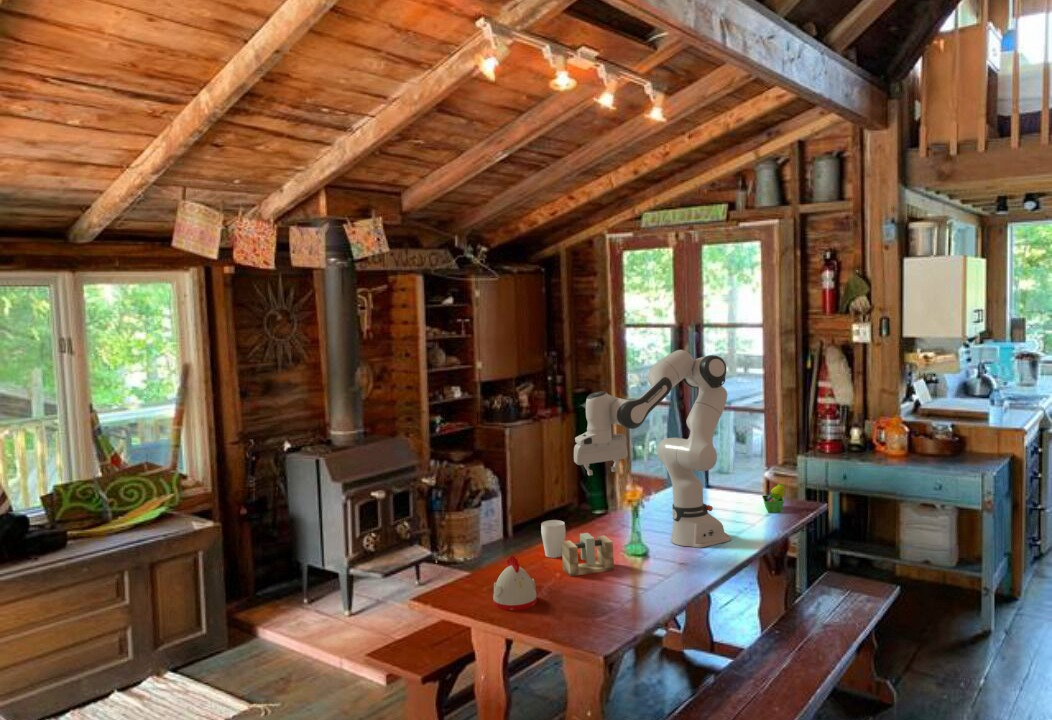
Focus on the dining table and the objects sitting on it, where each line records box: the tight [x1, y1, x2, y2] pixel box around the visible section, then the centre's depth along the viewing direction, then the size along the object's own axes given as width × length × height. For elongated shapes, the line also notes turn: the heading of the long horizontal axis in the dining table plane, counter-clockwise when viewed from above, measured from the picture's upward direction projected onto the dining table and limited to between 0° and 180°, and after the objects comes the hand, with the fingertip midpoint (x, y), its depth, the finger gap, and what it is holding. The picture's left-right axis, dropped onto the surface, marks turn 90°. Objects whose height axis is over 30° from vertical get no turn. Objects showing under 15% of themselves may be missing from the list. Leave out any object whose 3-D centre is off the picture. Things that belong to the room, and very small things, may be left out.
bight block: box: [579, 532, 597, 565], centre depth 298 cm, size 3×7×9 cm, turn 15°
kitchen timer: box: [492, 554, 538, 611], centre depth 271 cm, size 14×14×15 cm
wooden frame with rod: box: [561, 535, 615, 577], centre depth 298 cm, size 16×8×10 cm, turn 106°
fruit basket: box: [762, 483, 786, 514], centre depth 360 cm, size 11×9×11 cm
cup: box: [540, 519, 566, 559], centre depth 316 cm, size 9×9×12 cm
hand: (602, 473), depth 314 cm, fingers open, 8 cm apart
